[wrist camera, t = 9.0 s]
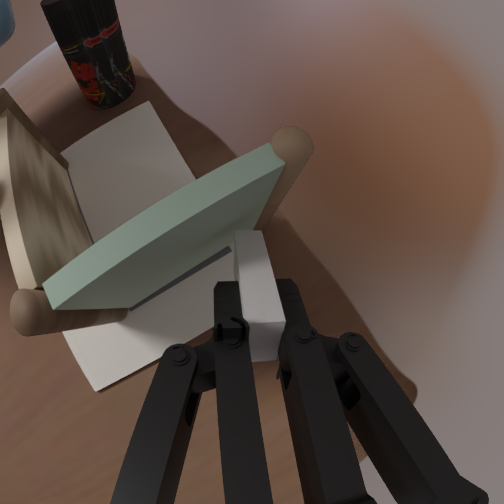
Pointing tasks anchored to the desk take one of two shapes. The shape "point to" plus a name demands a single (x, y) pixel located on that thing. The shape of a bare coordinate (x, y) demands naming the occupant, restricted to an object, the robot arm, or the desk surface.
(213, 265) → the card
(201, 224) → the fence gate
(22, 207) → the fence fixed
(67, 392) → the desk surface
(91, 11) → the deodorant
